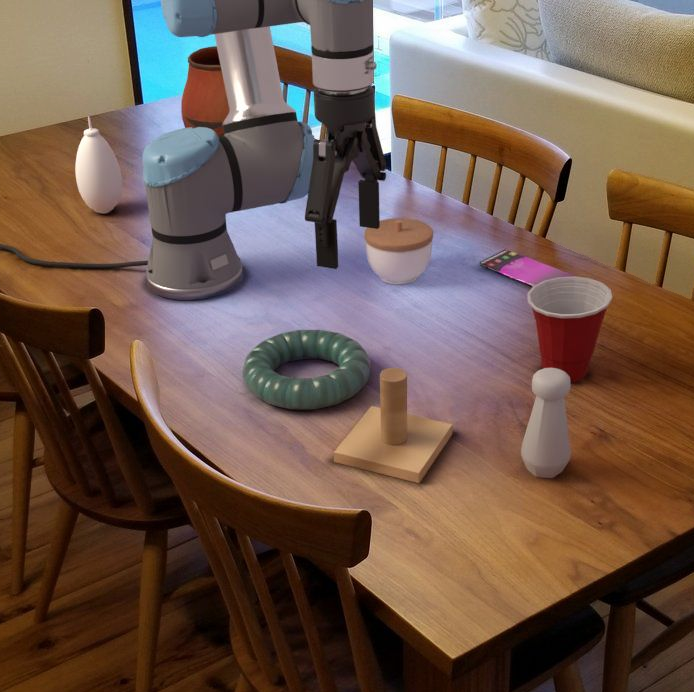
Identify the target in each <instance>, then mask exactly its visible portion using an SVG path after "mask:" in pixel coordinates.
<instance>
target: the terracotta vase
mask: <svg viewBox="0 0 694 692" xmlns="http://www.w3.org/2000/svg"><path fill="white" fill-rule="evenodd" d="M187 63H188V68H187V76H186V81H185V84H184V88H183V92H182V96H181V105H180V106H181V107H180V108H181V109H180V110H181V111H180V112H181V119H182V123H183V126H184V128H189V127H192V128H197V127H206V128H210V129H212V130H214V131H215V132H216V134H217V135H218V137H219V136H224V130H223V124H222V123H223V122H224V120H225V119H226V117H227V116H228V114H229V105H228V100H227V95H226V90H225V85H224V80H223V75H222V70H221V65H220V60H219V55H218V50H217V45H214V46H207V47H202V48H199V49H197V50H195V51H193V52H191V53H190V54H189V55H188V57H187Z"/></svg>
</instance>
